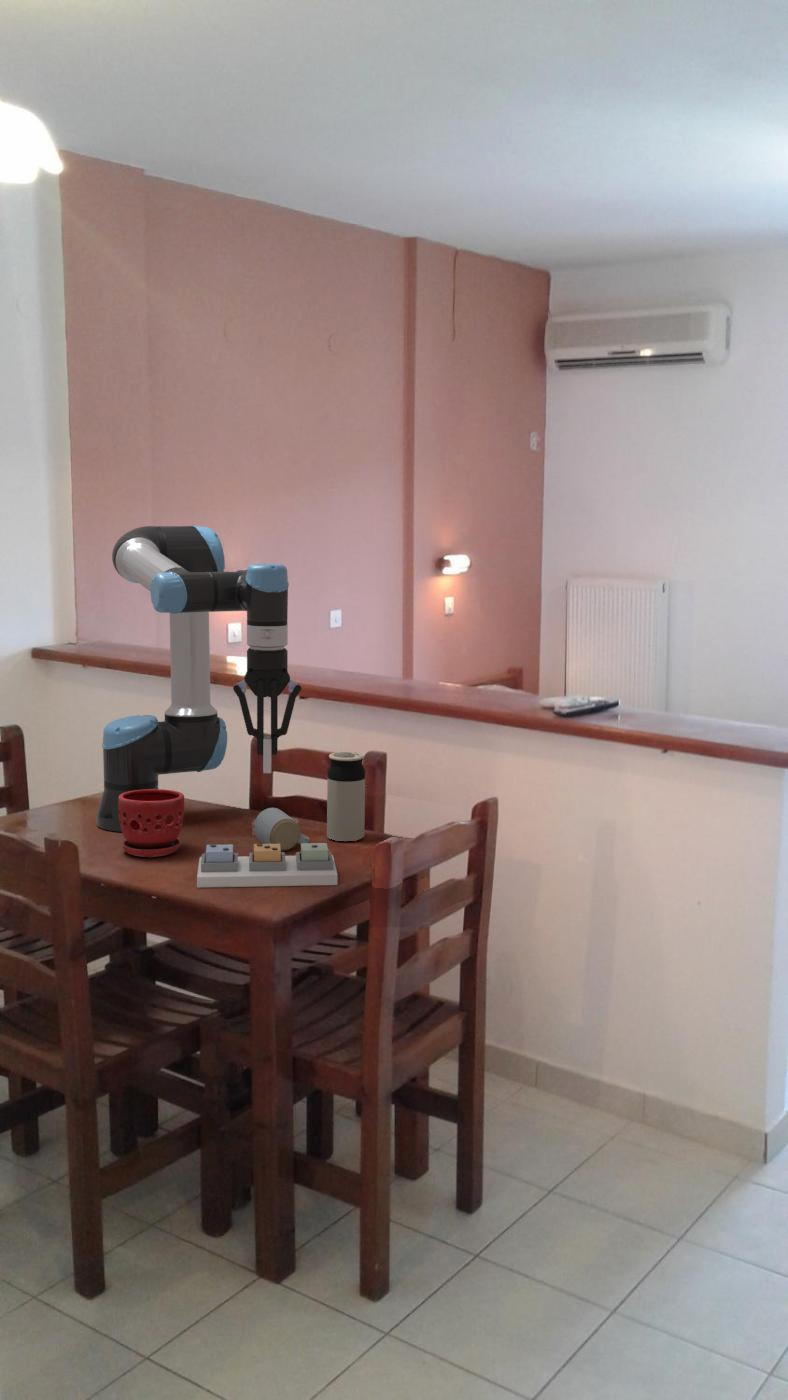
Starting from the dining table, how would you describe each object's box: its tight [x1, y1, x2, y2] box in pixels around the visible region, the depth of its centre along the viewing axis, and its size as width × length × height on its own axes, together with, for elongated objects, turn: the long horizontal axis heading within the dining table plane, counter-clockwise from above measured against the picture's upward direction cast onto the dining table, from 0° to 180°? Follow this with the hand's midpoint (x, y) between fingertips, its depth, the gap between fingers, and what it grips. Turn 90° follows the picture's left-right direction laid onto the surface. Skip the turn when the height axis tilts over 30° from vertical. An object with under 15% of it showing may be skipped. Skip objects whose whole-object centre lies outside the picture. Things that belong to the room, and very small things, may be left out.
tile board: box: [196, 851, 338, 889], centre depth 242 cm, size 13×26×4 cm, turn 96°
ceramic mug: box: [253, 807, 310, 852], centre depth 262 cm, size 11×8×8 cm
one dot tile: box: [300, 842, 329, 861], centre depth 242 cm, size 5×5×2 cm
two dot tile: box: [205, 843, 234, 862], centre depth 240 cm, size 5×5×2 cm
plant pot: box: [118, 788, 185, 859], centre depth 256 cm, size 13×13×12 cm
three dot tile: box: [253, 843, 282, 862], centre depth 241 cm, size 5×5×2 cm
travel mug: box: [326, 751, 366, 842], centre depth 268 cm, size 8×8×18 cm
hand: (267, 771), depth 239 cm, fingers closed
